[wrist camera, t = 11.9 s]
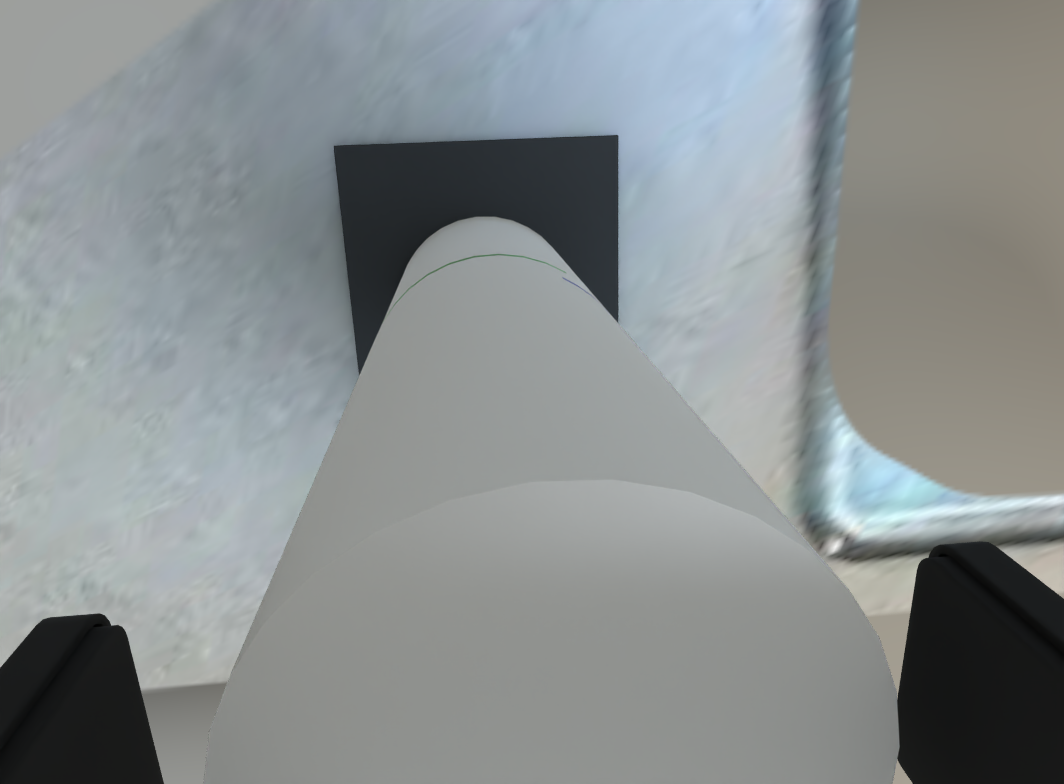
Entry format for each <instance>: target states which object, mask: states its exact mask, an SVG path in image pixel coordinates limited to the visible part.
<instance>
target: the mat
mask: <svg viewBox="0 0 1064 784" xmlns="http://www.w3.org/2000/svg"><path fill="white" fill-rule="evenodd" d="M334 153H335V162H336V171H337V180H338V189H339V198H340V207H341V216H342V225H343V234H344V243H345V252H346V261H347V270H348V279H349V288H350V297H351V306H352V315H353V324H354V333H355V342H356V351H357V360H358V369H359V375H360V373H361V371H362V368H363V366H364V364H365V361H366V359H367V357H368V354H369V352H370V350H371V348H372V345H373V343H374V341H375V338H376V336H377V334H378V332H379V330H380V327H381V325H382V323H383V320H384V318H385V316H386V314H387V311H388V309H389V307H390V304H391V302H392V300H393V297H394V295H395V293H396V290H397V288H398V286H399V283H400V281H401V279H402V276H403V274H404V272H405V269H406V267H407V265H408V263H409V261H410V259H411V258H412V256H413V255H414V253H415V252H416V250H417V249H418V248H419V247H420V246H421V245H422V244H423V242H424V241H425V240H426V239H427V238H428V237H430V236H431V235H433V234H434V233H435V232H437V231H438V230H440V229H441V228H443V227H445V226H447V225H449V224H452V223H454V222H456V221H459V220H463V219H468V218H473V217H498V218H503V219H508V220H513V221H515V222H517V223H519V224H522V225H524V226H526V227H528V228H530V229H531V230H533V231H534V232H536V233H537V234H539V235H540V236H542V237H543V238H544V239H545V240H546V241H547V242H548V243H549V244H550V245H551V246H552V247H553V249H554V250H555V251H556V252H557V253H558V254H559V256H560V257H561V258H562V259H563V260H564V261H565V263H566V264H567V265H568V266H569V267H570V268H571V270H572V271H573V272H574V273H575V274H576V275H577V276H578V278H579V279H580V280H581V281H582V282H583V283H584V284H585V286H586V287H587V288H588V289H589V290H590V291H591V293H592V294H593V295H594V296H595V297H596V298H597V299H598V301H599V302H600V303H601V304H602V305H603V306H604V307H605V309H606V310H607V311H608V312H609V313H610V315H611V316H612V317H613V318H614V319H615V320H616V321H617V322H618V135H614V136H587V137H560V138H533V139H506V140H479V141H452V142H425V143H398V144H371V145H344V146H334Z"/></svg>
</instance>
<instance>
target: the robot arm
mask: <svg viewBox="0 0 1064 784" xmlns="http://www.w3.org/2000/svg"><path fill="white" fill-rule="evenodd" d="M897 708H898V727H899V746H900V747H899V752H898V757H897V759H898V761H899V763H900V765H901V767H902V768H903V770H904V771H905V773H906V774H907V776H908V777H909V778H910V780H911V781H912V783H913V784H1064V599H1063V598H1062V597H1061V596H1059V595H1058V594H1057V593H1055V592H1054V591H1053V590H1052V589H1050V588H1049V587H1048V586H1046V585H1045V584H1044V583H1042V582H1041V581H1040V580H1039V579H1037V578H1036V577H1035V576H1033V575H1032V574H1031V573H1030V572H1028V571H1027V570H1026V569H1024V568H1023V567H1022V566H1021V565H1019V564H1018V563H1017V562H1015V561H1014V560H1013V559H1011V558H1010V557H1009V556H1008V555H1006V554H1005V553H1004V552H1002V551H1001V550H1000V549H999V548H997V547H996V546H994V545H992V544H991V543H989V542H969V543H957V544H945V545H938V546H936V547H934V548H933V550H932V551H931V553H930V555H929V558H925V559H923V560H922V561H921V562H920V563H919V565H918V569H917V574H916V580H915V587H914V594H913V600H912V607H911V613H910V620H909V627H908V633H907V640H906V647H905V653H904V660H903V666H902V672H901V680H900V686H899V692H898V699H897ZM0 784H164V782H163V778H162V775H161V770H160V766H159V762H158V758H157V754H156V750H155V746H154V742H153V738H152V734H151V730H150V726H149V722H148V718H147V714H146V710H145V706H144V702H143V698H142V694H141V690H140V686H139V682H138V677H137V673H136V669H135V665H134V661H133V657H132V653H131V649H130V645H129V641H128V637H127V634H126V632H125V630H124V629H123V627H121V626H119V625H114V626H111V624H110V621H109V620H108V619H107V618H106V616H105V615H102V614H87V615H75V616H63V617H50V618H46V619H43V620H42V621H41V622H40V623H38V624H37V625H36V626H35V628H34V629H33V630H32V631H31V632H30V634H29V635H28V636H27V637H26V638H25V639H24V641H23V642H22V643H21V644H20V645H19V646H18V648H17V649H16V650H15V651H14V652H13V654H12V655H11V656H10V657H9V658H8V659H7V661H6V662H5V663H4V664H3V665H2V667H1V668H0Z"/></svg>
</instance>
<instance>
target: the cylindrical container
mask: <svg viewBox="0 0 1064 784" xmlns="http://www.w3.org/2000/svg"><path fill="white" fill-rule="evenodd" d="M899 747H900V746H899V727H898V708H897V691H896V688H895V685H894V681H893V678H892V675H891V672H890V669H889V667H888V663H887V660H886V657H885V653H884V650H883V647H882V644H881V641H880V638H879V636H878V635H877V633H876V631H875V630H874V629H873V627H872V625H871V624H870V622H869V620H868V619H867V617H866V616H865V614H864V612H863V611H862V609H861V608H860V606H859V605H858V603H857V601H856V600H855V598H854V597H853V595H852V593H851V592H850V590H849V589H848V588H847V587H846V585H845V584H844V583H843V582H842V581H841V580H840V579H839V577H838V576H837V575H836V574H835V573H834V572H833V571H832V569H831V568H830V567H829V566H828V565H827V564H826V562H825V561H824V560H823V559H822V558H821V557H820V556H819V554H818V553H817V552H816V551H815V550H814V549H813V547H812V546H811V545H810V544H809V543H808V542H807V541H806V539H805V538H804V537H803V536H802V535H801V534H800V533H799V531H798V530H797V529H796V528H795V527H794V526H793V524H792V523H791V522H790V521H789V520H788V519H787V518H786V516H785V515H784V514H783V513H782V512H781V511H780V509H779V508H778V507H777V506H776V505H775V504H774V503H773V501H772V500H771V499H770V498H769V497H768V496H767V495H766V493H765V492H764V491H763V490H762V489H761V488H760V486H759V485H758V484H757V483H756V482H755V481H754V480H753V478H752V477H751V476H750V475H749V474H748V473H747V471H746V470H745V469H744V468H743V467H742V466H741V465H740V463H739V462H738V461H737V460H736V459H735V458H734V456H733V455H732V454H731V453H730V452H729V451H728V450H727V448H726V447H725V446H724V445H723V444H722V443H721V442H720V440H719V439H718V438H717V437H716V436H715V435H714V433H713V432H712V431H711V430H710V429H709V428H708V427H707V425H706V424H705V423H704V422H703V421H702V420H701V418H700V417H699V416H698V415H697V414H696V413H695V412H694V410H693V409H692V408H691V407H690V406H689V405H688V404H687V402H686V401H685V400H684V399H683V398H682V397H681V395H680V394H679V393H678V392H677V391H676V390H675V388H674V387H673V386H672V385H671V384H670V383H669V382H668V380H667V379H666V378H665V377H664V376H663V375H662V373H661V372H660V371H659V370H658V369H657V368H656V366H655V365H654V364H653V363H652V362H651V361H650V360H649V358H648V357H647V356H646V355H645V354H644V353H643V351H642V350H641V349H640V348H639V347H638V346H637V344H636V343H635V342H634V341H633V340H632V339H631V338H630V336H629V335H628V334H627V333H626V332H625V331H624V329H623V328H622V327H621V326H620V325H619V324H618V322H617V321H616V320H615V319H614V318H613V317H612V316H611V315H610V313H609V312H608V311H607V310H606V309H605V307H604V306H603V305H602V304H601V303H600V302H599V301H598V299H597V298H596V297H595V296H594V295H593V294H592V293H591V291H590V290H589V289H588V288H587V287H586V286H585V284H584V283H583V282H582V281H581V280H580V279H579V278H578V276H577V275H576V274H575V273H574V272H573V271H572V270H571V268H570V267H569V266H568V265H567V264H566V263H565V261H564V260H563V259H562V258H561V257H560V256H559V254H558V253H557V252H556V251H555V250H554V249H553V247H552V246H551V245H550V244H549V243H548V242H547V241H546V240H545V239H544V238H543V237H542V236H540V235H539V234H537V233H536V232H534V231H533V230H531V229H530V228H528V227H526V226H524V225H522V224H519V223H517V222H515V221H513V220H508V219H503V218H498V217H473V218H468V219H463V220H459V221H456V222H454V223H452V224H449V225H447V226H445V227H443V228H441V229H440V230H438V231H437V232H435V233H434V234H433V235H431V236H430V237H428V238H427V239H426V240H425V241H424V242H423V244H422V245H421V246H420V247H419V248H418V249H417V250H416V252H415V253H414V255H413V256H412V258H411V259H410V261H409V263H408V265H407V267H406V269H405V272H404V274H403V276H402V279H401V281H400V283H399V286H398V288H397V290H396V293H395V295H394V297H393V300H392V302H391V304H390V307H389V309H388V311H387V314H386V316H385V318H384V320H383V323H382V325H381V327H380V330H379V332H378V334H377V336H376V338H375V341H374V343H373V345H372V348H371V350H370V352H369V354H368V357H367V359H366V361H365V364H364V366H363V368H362V371H361V373H360V375H359V378H358V380H357V382H356V385H355V387H354V389H353V392H352V394H351V396H350V399H349V401H348V403H347V405H346V408H345V410H344V412H343V415H342V417H341V419H340V422H339V424H338V426H337V429H336V431H335V433H334V436H333V438H332V440H331V443H330V445H329V447H328V450H327V452H326V454H325V457H324V459H323V461H322V463H321V466H320V468H319V470H318V473H317V475H316V477H315V480H314V482H313V484H312V487H311V489H310V491H309V494H308V496H307V498H306V501H305V503H304V505H303V508H302V510H301V512H300V514H299V517H298V519H297V521H296V524H295V526H294V528H293V531H292V533H291V535H290V538H289V540H288V542H287V545H286V547H285V549H284V552H283V554H282V556H281V559H280V561H279V563H278V566H277V568H276V570H275V572H274V575H273V577H272V579H271V582H270V584H269V586H268V589H267V591H266V593H265V596H264V598H263V600H262V603H261V605H260V607H259V610H258V612H257V614H256V617H255V619H254V621H253V623H252V626H251V628H250V630H249V633H248V635H247V637H246V640H245V642H244V644H243V647H242V649H241V651H240V654H239V656H238V658H237V661H236V663H235V665H234V668H233V670H232V672H231V675H230V677H229V680H228V683H227V685H226V688H225V691H224V693H223V696H222V699H221V701H220V704H219V706H218V709H217V712H216V714H215V717H214V720H213V722H212V725H211V728H210V730H209V737H208V748H207V757H206V765H205V774H204V783H203V784H892V783H893V778H894V773H895V767H896V763H897V757H898V752H899Z"/></svg>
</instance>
